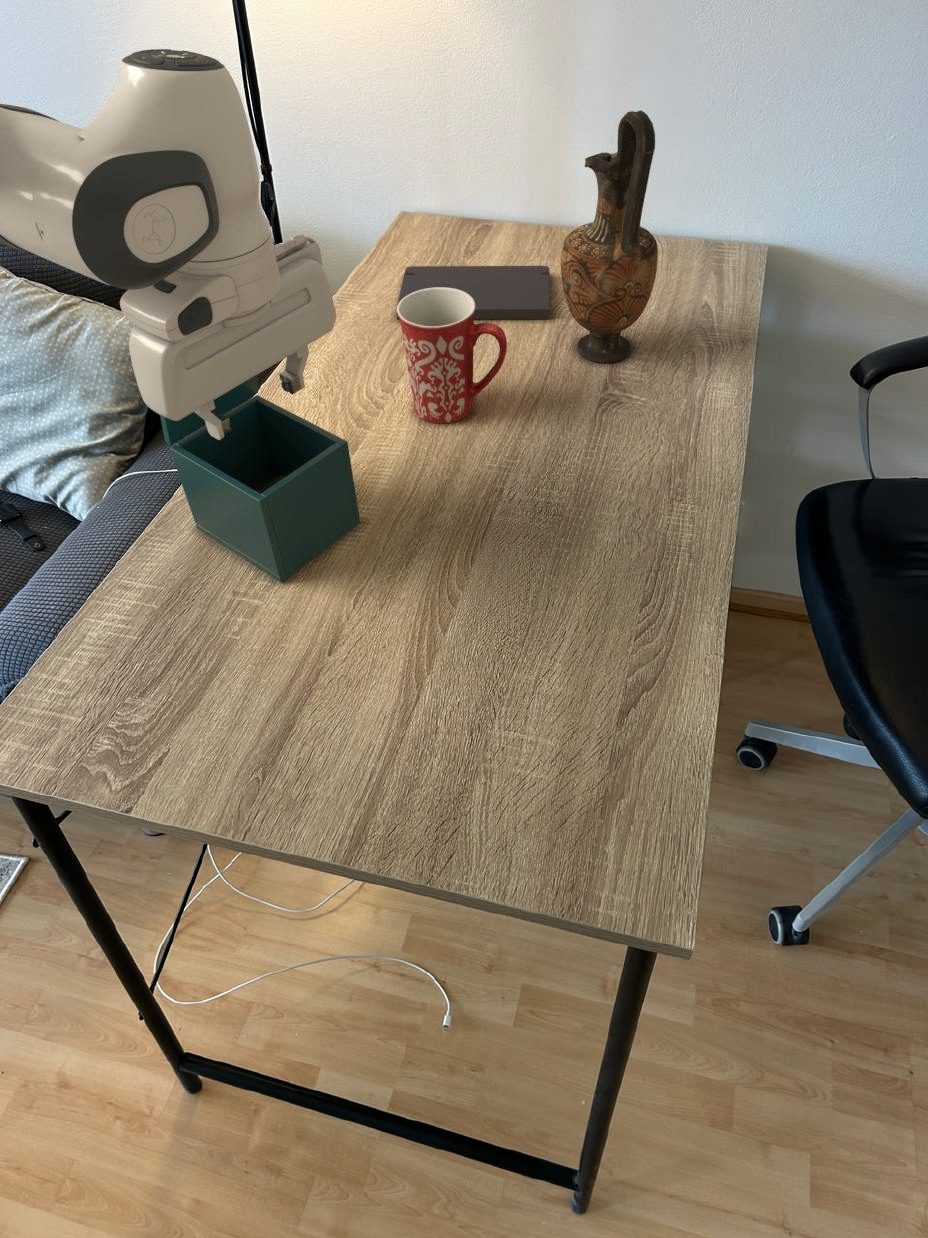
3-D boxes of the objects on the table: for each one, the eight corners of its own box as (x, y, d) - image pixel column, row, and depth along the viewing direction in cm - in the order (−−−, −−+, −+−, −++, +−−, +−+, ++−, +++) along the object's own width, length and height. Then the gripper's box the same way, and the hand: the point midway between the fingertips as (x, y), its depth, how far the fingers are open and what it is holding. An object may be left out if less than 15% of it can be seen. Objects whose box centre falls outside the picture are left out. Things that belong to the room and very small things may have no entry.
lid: (249, 273, 83) (211, 246, 84) (147, 325, 77) (108, 296, 78) (258, 392, 95) (225, 367, 96) (170, 445, 89) (136, 418, 90)
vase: (623, 320, 123) (648, 76, 101) (664, 366, 115) (701, 112, 93) (543, 336, 121) (552, 91, 99) (580, 385, 113) (598, 129, 91)
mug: (395, 422, 109) (384, 320, 99) (420, 382, 115) (412, 281, 105) (494, 438, 106) (493, 335, 96) (515, 396, 112) (516, 295, 102)
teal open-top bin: (360, 523, 97) (347, 441, 89) (281, 583, 91) (259, 501, 83) (276, 474, 103) (256, 394, 95) (196, 528, 97) (169, 447, 89)
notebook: (397, 319, 126) (549, 319, 124) (395, 308, 124) (549, 308, 123) (406, 275, 134) (549, 275, 133) (405, 265, 133) (549, 265, 132)
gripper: (290, 217, 81) (314, 353, 92) (101, 309, 71) (151, 450, 81) (339, 235, 79) (358, 373, 89) (149, 333, 68) (195, 477, 79)
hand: (258, 411), depth 85 cm, fingers open, 8 cm apart
